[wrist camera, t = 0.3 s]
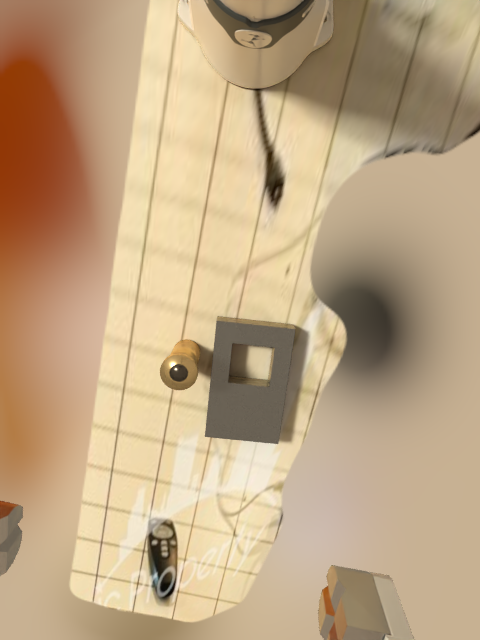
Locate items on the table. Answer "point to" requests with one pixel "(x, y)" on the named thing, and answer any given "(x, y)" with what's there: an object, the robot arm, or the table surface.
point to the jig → (248, 382)
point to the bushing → (181, 366)
